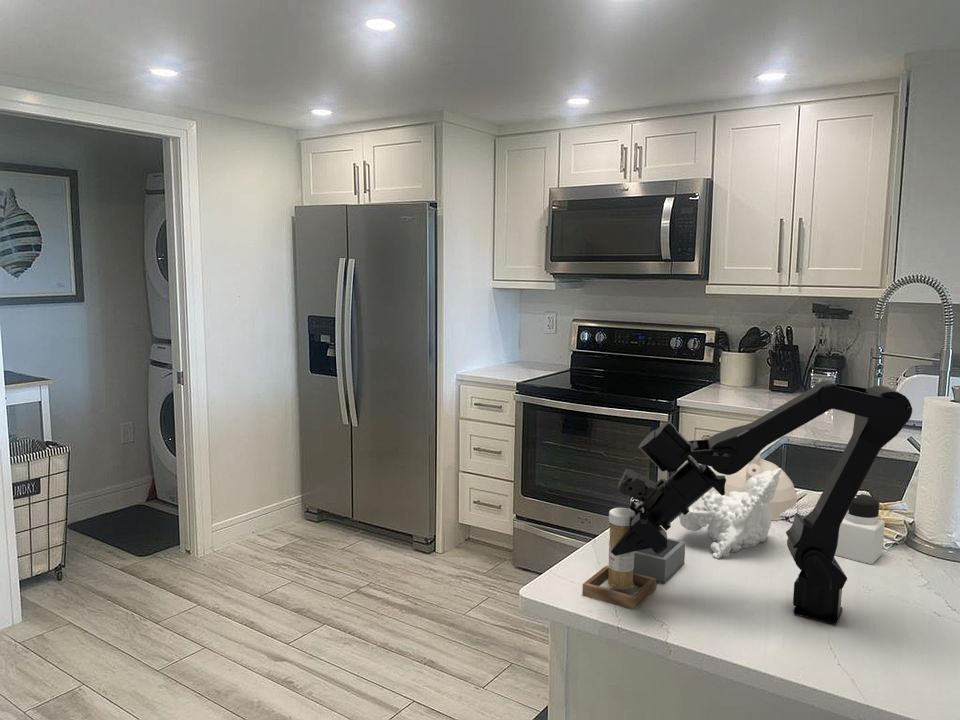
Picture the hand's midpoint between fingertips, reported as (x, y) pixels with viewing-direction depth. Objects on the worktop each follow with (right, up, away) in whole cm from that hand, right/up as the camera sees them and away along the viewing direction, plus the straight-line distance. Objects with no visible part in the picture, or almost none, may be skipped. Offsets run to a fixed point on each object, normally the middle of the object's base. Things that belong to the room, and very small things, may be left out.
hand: (613, 548), depth 126 cm
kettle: (+42, -2, +47) cm, 63 cm away
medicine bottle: (+52, -6, +18) cm, 55 cm away
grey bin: (+9, -7, +11) cm, 16 cm away
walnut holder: (+1, -8, +1) cm, 8 cm away
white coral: (+28, -5, +24) cm, 37 cm away
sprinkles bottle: (+1, -7, +1) cm, 7 cm away
